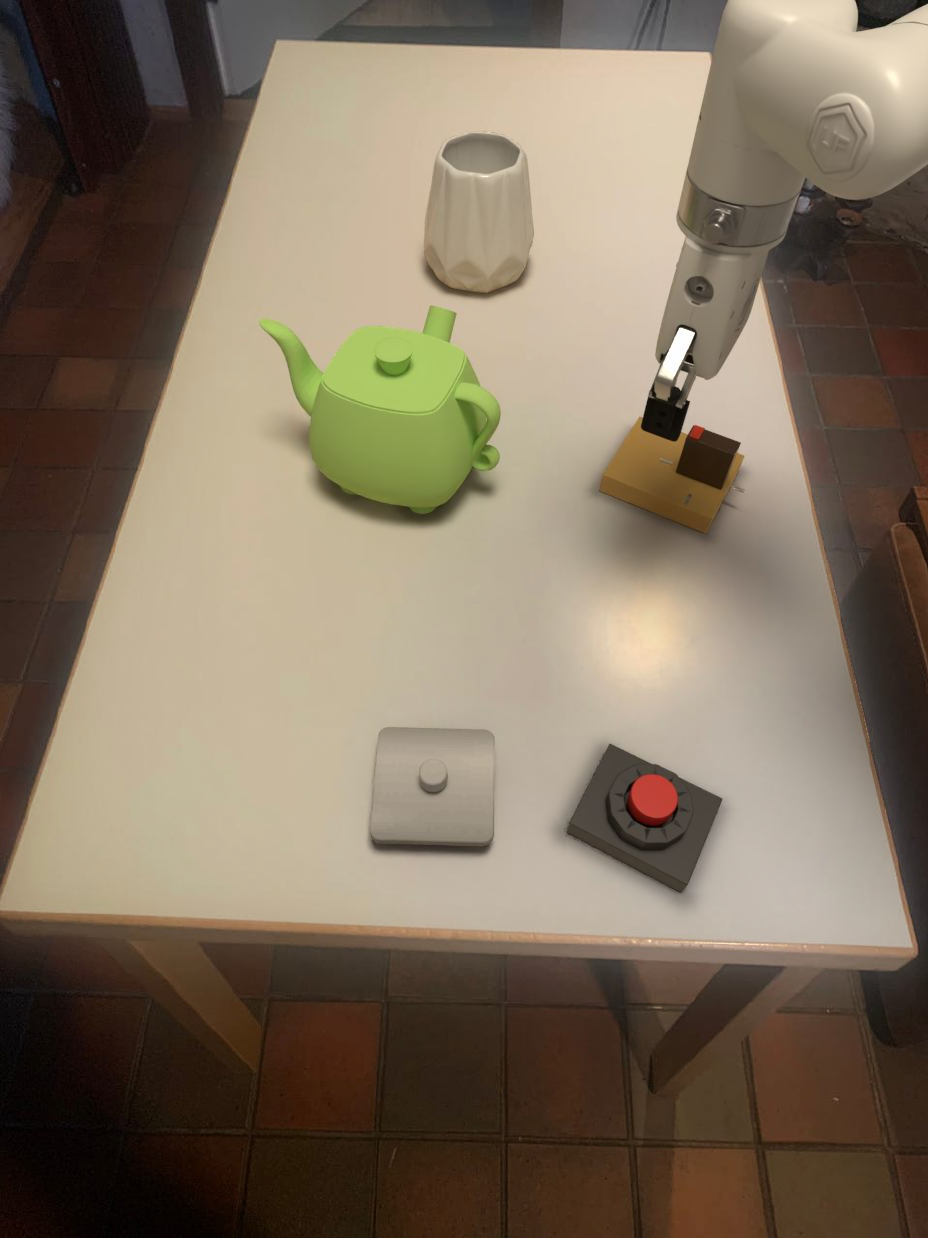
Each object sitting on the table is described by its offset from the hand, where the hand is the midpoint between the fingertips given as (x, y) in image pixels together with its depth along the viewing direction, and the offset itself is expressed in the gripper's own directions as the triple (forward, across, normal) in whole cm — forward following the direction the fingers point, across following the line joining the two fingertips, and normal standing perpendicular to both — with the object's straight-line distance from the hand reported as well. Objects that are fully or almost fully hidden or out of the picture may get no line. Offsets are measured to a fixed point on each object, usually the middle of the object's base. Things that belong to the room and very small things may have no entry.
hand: (680, 398), depth 71 cm
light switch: (+18, -35, +5) cm, 39 cm away
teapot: (+18, -1, +28) cm, 34 cm away
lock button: (+14, -28, -12) cm, 34 cm away
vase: (+18, +32, +36) cm, 51 cm away
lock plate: (+18, +8, 0) cm, 20 cm away
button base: (+18, -28, -12) cm, 36 cm away
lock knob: (+16, +8, -3) cm, 18 cm away
